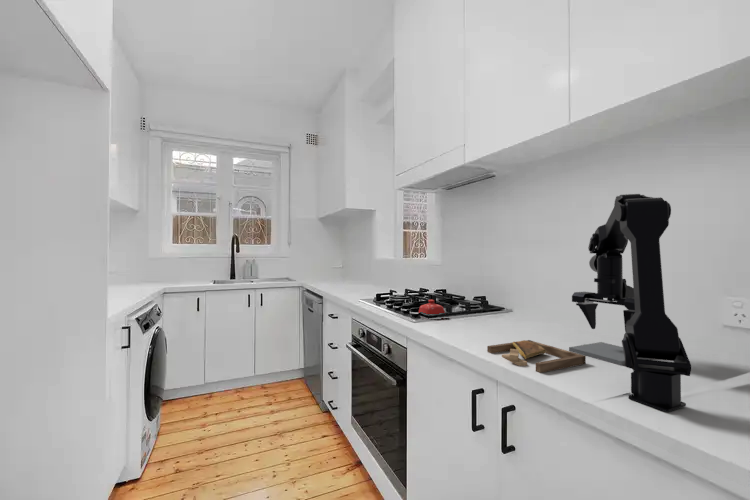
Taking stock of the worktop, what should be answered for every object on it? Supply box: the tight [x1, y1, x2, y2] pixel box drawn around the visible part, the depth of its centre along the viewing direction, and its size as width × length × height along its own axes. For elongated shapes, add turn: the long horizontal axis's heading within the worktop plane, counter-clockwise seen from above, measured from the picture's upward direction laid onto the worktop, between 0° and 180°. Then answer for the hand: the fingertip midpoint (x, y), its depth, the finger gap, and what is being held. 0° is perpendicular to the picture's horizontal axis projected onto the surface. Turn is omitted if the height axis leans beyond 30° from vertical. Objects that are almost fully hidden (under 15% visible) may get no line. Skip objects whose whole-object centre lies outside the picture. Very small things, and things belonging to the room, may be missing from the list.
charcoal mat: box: [568, 341, 650, 366], centre depth 94 cm, size 14×14×1 cm
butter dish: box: [418, 299, 446, 314], centre depth 145 cm, size 12×12×8 cm
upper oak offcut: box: [509, 349, 520, 362], centre depth 88 cm, size 6×2×2 cm, turn 157°
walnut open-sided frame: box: [486, 339, 587, 374], centre depth 91 cm, size 17×16×2 cm
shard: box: [512, 340, 546, 360], centre depth 93 cm, size 11×8×2 cm
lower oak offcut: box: [501, 353, 528, 367], centre depth 88 cm, size 7×2×2 cm, turn 13°
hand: (610, 332), depth 94 cm, fingers open, 9 cm apart
